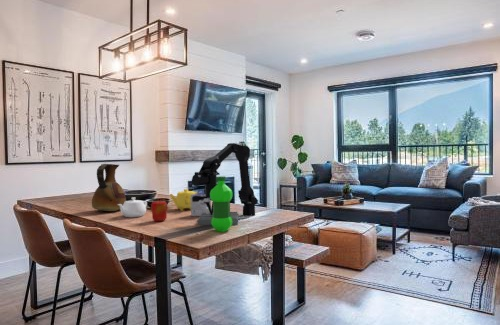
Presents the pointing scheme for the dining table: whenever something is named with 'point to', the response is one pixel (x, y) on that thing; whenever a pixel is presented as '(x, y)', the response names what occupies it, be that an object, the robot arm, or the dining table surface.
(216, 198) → the plastic bottle
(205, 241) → the dining table surface
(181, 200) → the teapot
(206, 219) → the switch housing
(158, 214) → the red rounded piece
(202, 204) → the ink cartridge box
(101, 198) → the ceramic pitcher
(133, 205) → the teapot
